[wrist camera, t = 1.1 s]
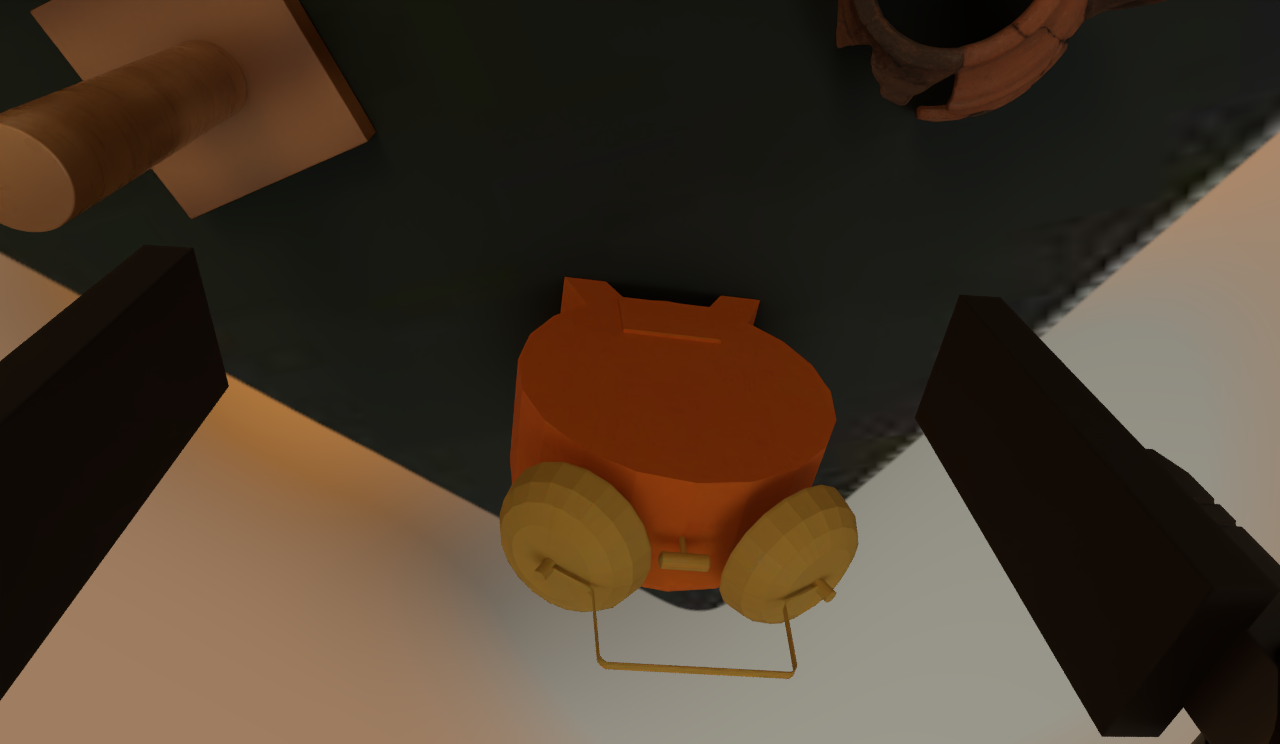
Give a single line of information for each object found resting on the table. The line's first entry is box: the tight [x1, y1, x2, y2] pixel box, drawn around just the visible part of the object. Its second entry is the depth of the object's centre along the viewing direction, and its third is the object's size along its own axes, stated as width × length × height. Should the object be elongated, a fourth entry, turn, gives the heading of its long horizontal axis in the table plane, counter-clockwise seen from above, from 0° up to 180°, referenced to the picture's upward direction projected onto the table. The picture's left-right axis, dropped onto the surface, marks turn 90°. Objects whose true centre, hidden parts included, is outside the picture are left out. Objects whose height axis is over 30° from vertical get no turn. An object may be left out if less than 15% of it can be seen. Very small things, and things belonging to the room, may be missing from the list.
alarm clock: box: [500, 277, 858, 679], centre depth 31 cm, size 13×6×20 cm, turn 81°
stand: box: [0, 0, 376, 232], centre depth 25 cm, size 9×9×14 cm
